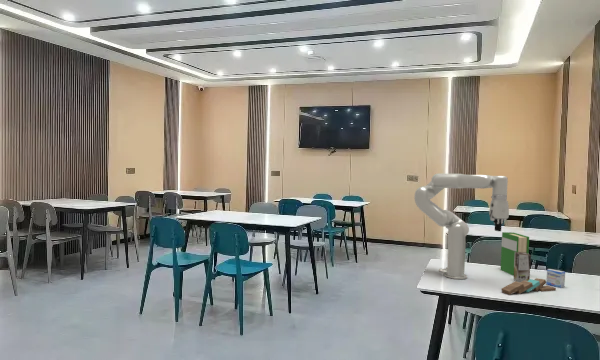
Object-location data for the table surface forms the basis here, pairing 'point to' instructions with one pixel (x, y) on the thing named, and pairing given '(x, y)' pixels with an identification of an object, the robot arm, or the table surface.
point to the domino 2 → (526, 286)
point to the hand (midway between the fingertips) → (497, 230)
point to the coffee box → (522, 266)
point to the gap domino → (535, 284)
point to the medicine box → (555, 278)
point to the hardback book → (512, 249)
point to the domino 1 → (512, 287)
